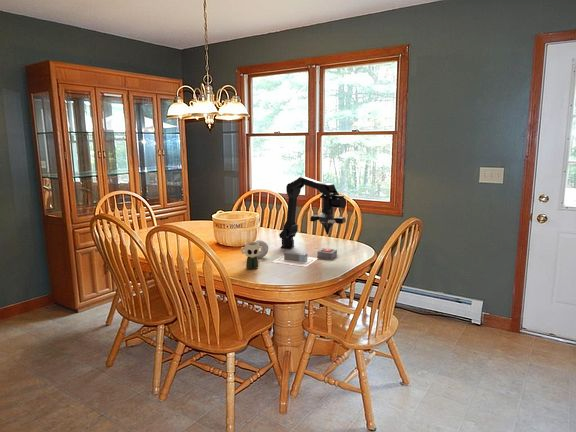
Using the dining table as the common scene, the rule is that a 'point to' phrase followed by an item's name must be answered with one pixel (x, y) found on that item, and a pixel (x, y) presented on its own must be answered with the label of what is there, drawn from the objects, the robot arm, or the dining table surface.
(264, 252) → the donut
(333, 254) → the button housing
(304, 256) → the gray rectangular block
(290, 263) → the paper sheet
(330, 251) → the button
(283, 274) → the dining table surface
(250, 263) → the big-eyed character figurine
